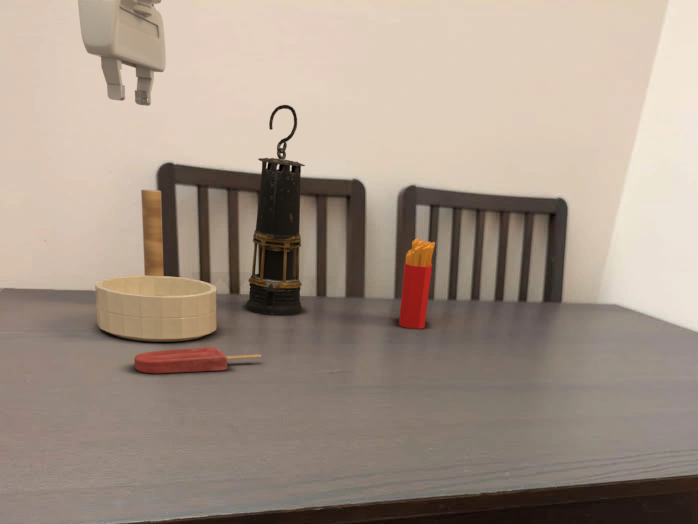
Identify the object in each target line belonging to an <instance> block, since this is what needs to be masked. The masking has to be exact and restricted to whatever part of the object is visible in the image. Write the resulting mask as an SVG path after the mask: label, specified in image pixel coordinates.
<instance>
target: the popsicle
mask: <svg viewBox="0 0 698 524" xmlns="http://www.w3.org/2000/svg"><path fill="white" fill-rule="evenodd" d="M262 357H263V356H262V354H257V353H256V354H255V353H254V354H240V355H238V354H237V355H225V353H223V352H222V351H221V350H220V349H219V348H218V347H216V346H207V347H192V348H182V349H170V350H156V351H148V352H146V351H145V352H141V353H138V354H136V355H135V356H134V358H133V360H134V369H135V370H136V371H138V372H141V373H145V374H176V373H178V374H179V373H196V372H220V371H227V370H228V361H229V360H243V359H245V360H246V359H259V358H262Z"/></svg>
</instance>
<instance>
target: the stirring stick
mask: <svg viewBox="0 0 698 524" xmlns="http://www.w3.org/2000/svg"><path fill="white" fill-rule="evenodd" d="M140 194H141V196H140V197H141V217H142V218H141V219H142V243H143V267H144V269H143V270H144V275H146V276H165V275H164V271H165V270H164V241H163V208H162V207H163V206H162V191H161V190H159V189H158V190H157V189H141V191H140Z"/></svg>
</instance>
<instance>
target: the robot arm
mask: <svg viewBox="0 0 698 524" xmlns="http://www.w3.org/2000/svg"><path fill="white" fill-rule="evenodd" d="M161 2H162V0H77V6H78V17H79V26H80V34H81V39H82V43H83V45H84V48H85V50H86V52H87V53H88V54H89V55H93V56H96V57H99V58H100V65H101V66H100V67H101V70H102V73H103V77H104V80H105V83H106V90H107V91H106V92H107V97H108V99H110V100H113V101H125V99H126V86H125V85H123V79H122V72H121V70H122V69H123V65H125V66H127V67H131V68H134V69H135V78H137V81H136V90H134V102H135V104H136V105H139V106H147V107H149V106H151V104H152V89H153V85H154V80H155V73H163V72H165V70H166V65H167V54H166V40H165V28H164V21H163V17H162V14H161V12H160V11H159V10H157V8H156V7H155V5H157V4H160V3H161Z"/></svg>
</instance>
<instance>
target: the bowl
mask: <svg viewBox="0 0 698 524" xmlns="http://www.w3.org/2000/svg"><path fill="white" fill-rule="evenodd" d="M94 289H95V291H94V292H95V305H96V320H97V326H98V327H99V330H102V331H105V332H106V333H109V334H110V335H113V336H115V337H118V338H122V339H126V340H132V341H140V342H153V343H156V342H157V343H170V342H171V343H174V342H184V341H192V340H197V339H200V338H203V337H206V336H207V335H209V334H211V333H214V332H215V331H216V330H217V326H218V325H217V322H218V320H217V319H218V317H217V315H218V314H217V311H218V308H217V307H218V306H217V303H218V301H217V300H218V299H217V297H218V289H217V286H215V285H214V284H212V283H210V282H206V281H203V280H200V279H199V280H198V279H193V278H188V277H180V276H169V275H164V276H146V275H145V274H144V275H143V274H141V275H139V274H137V275H121V276H120V275H119V276H112V277H107V278H102V279H100V280H97V281H96V282H95V283H94Z"/></svg>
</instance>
